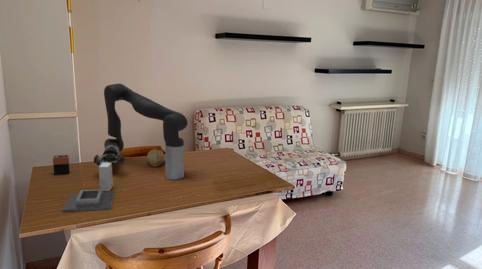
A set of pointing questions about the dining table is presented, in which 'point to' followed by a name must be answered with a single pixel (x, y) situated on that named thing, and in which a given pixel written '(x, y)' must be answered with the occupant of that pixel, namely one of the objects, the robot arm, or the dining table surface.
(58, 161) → the battery
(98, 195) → the grey box holder
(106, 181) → the skincare box
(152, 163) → the bread roll
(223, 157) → the dining table surface
